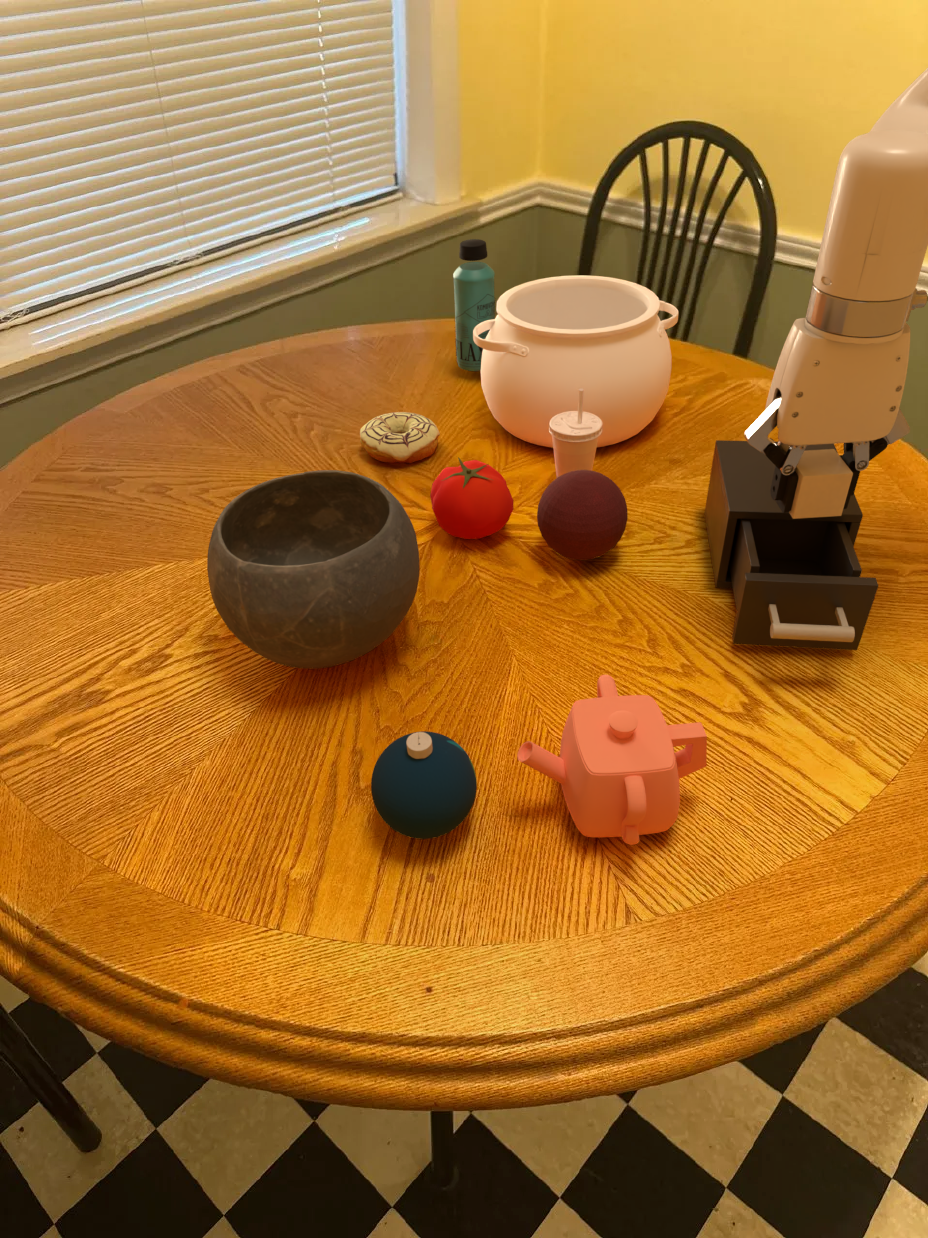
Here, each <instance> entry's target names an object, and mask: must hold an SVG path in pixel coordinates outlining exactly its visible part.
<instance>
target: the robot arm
mask: <svg viewBox="0 0 928 1238" xmlns="http://www.w3.org/2000/svg"><path fill="white" fill-rule="evenodd" d="M927 249H928V67H927V68H926V69H925V70H924V71H923V72H922V73H920V74H919V75H918V77H916V79H914V81H912V82H911V83H910V84H909V85H908V86H907V87H906V88H905V90H903V91H902V92H901V93H900V95H898V96H897V97H896V99H895V100H894V101H893V102H892V103H891V104H890V105H889V106H887V108H886V109H885V111H884V112H883V113H882V114H881V115H880V117H879V118H878V119H877V120H876V121H875V122H874V124H873V126H872V127H871V129H870V131H869V132H867V133H863V134H860V135H859V134H858V135H857V136H855V137H854V138H852V139H851V140H850V141H849V142H847V144H846V145H845V147H844V148H843V150H842V151H841V154H840V156H839V159H838V162H837V166H836V171H835V176H834V180H833V185H832V190H831V194H830V200H829V204H828V209H827V214H826V219H825V224H824V229H823V233H822V238H821V243H820V248H819V253H818V257H817V261H816V266H815V270H814V274H813V280H812V284H811V289H810V294H809V298H808V302H807V307H806V312H805V317H800V318H796V319H795V320H794V322H793V323H792V325H791V328H790V329H789V332H788V335H787V336H786V339H785V341H784V344H783V347H782V349H781V352H780V353H779V354H780V355H779V357H778V361H777V362H776V363H777V364H776V367H775V370H774V373H773V377H772V380H771V383H770V387H769V390H768V394H767V398H766V403H765V407H764V411H763V412H762V413H761V414H760V415H759V416H758V418H756V419H755V420H754V422H753V423H752V424H750V426H749V427H748V428H747V429H746V430H745V431H744V432H743V437H744V439H745V441H747V442H748V443H749V445H751V446H752V447H754V448H755V449H757V450H758V451H760V452H762V453H763V454H765V455H766V456H767V458H768V459H769V460H770V461H771V462H772V463H773V464H774V465H775V470H774V475H773V479H772V484H771V489H770V494H771V497H772V499H773V500H775V501H776V503H777V504H778V506H779V508H780V509H781V511H782V512H783V513H787V512H790V511H791V508H792V504H793V500H794V496H795V491H796V487H797V483H798V475H797V473H796V472H795V469H796V466H797V464H798V462H799V460H800V458H801V456H802V454H803V452H804V450H805V448H806V446H807V445H818V444H834V445H836V444H843V453H842V454H839V456H840V457H841V458H842V460H843V461H844V462H845V463H846V465H847V466H848V467H849V469H850V470H851V471H852V472H853V476H852V479H851V483H850V486H849V490H848V494H847V497H846V501H845V504H844V508H843V509H847V507H848V503H849V500H850V496H852V495H853V494H855V492H856V488H857V485H858V481H859V478H860V473H861V471H865V470H866V469H867V468H868V467H869V466H870V461H872V460H873V459H874V458H876V457H877V456H878V455H880V454H881V453H882V452H884V451H886V449H887V447H888V446H889V445H892V444H894V443H895V442H897V441H899V440H900V439H902V438H904V437H906V436H907V435H908V434H910V432H911V426H910V425H909V423H908V421H907V419H906V417H905V416H904V413H903V412H902V410H901V407H900V406H901V403H902V398H903V394H904V390H905V384H906V379H907V375H908V374H907V373H908V367H909V360H910V349H911V348H910V347H911V326H910V324H908V323H907V322H908V321H909V319H910V315H911V312H912V311H914V310H915V309H921V308H924V307H925V306H926V305H927V302H928V292H927V291H926V290H925V289H921V290H920V289H919V290H918V288H917V285H918V282H919V279H920V274H921V271H922V267H923V264H924V260H925V256H926V253H927ZM776 427H777V429H778V430H777V439H778V441H775V440H774V439H773V438H772V437H769V435H770V433H772V431H773V430H774V429H775V428H776ZM776 442H778V443H776Z"/></svg>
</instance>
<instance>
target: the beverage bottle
mask: <svg viewBox="0 0 928 1238" xmlns="http://www.w3.org/2000/svg"><path fill="white" fill-rule="evenodd" d="M458 253H459V254H458V256H459V259H461V260H462V261H467V262H464V263H462V264H460V265H459V266H458V267H457V268H455V270H454V271H453V273H452V279H453V294H454V295H453V296H454V297H453V298H454V333H455V334H454V335H455V338H454V340H455V359H456V360H455V361H456V363H457V365H458V368H460V369H461V370H464V371H467V372H481V360H482V351H483V348H481V347H479V346H477V345H476V344H475V342H474V340H473V330H474V328H475V327H476V326H477V325H478V324H480V323H481V322H484V321H487V320H492V319H495V318H496V302H497V300H496V297H495V271H494V269H493V268H492V267H491V266H489V264H487V263H486V262H482V261H483V260H485V259H486V258H488V248H487V242H486V241H485V240H484V239H478V238H477V239H476V238H472V239H471V238H470V239H466V240H462V241H461V242H460V243H459V252H458ZM489 331H490V329H489V330H486V331H484V332H482V333H481V334H479V335H478V337H480V338H482V339H485V338H486V336H487V335H488V333H489Z"/></svg>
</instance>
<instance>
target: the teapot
mask: <svg viewBox="0 0 928 1238" xmlns="http://www.w3.org/2000/svg"><path fill="white" fill-rule="evenodd" d="M596 696H597V697H591V698H584V699H578V700H575V701H574V703H573V704H572V707H571V708H570V711H569V713H568V716H567V718H566V720H565V724H564V727H563V730H562V734H561V740H560V748H559V756H558V755H556V754H554V753H552V752H550V751H548V750H547V749H545V748H544V747H542V746H540V745H538V744H537V743H535V742H532V741H530V740H526V741H525V742H523V743H522V744H521V746H520V747H519V749H518V750H517V760H518V761H519V762H521V763H522V764H524V765H526V766H527V767H529V768H531V769H533V770H535V771H537V772H538V773H540V774H542V775H544V776H545V777H548V778H550V779H552V780H553V781H555V782H557V783H559V784H560V785H561V789H562V794H563V797H564V800H565V804H566V806H567V809H568V811H569V813H570V816H571V818H572V821H573V823H574V825H575V827H576V828H577V830H578V832H579V833H580V834H582V836H584V837H586V838H587V837H588V838H619V837H621V838H622V841H623V842H624V843H625V844H626V845H630V846H634V845H637V844H639V842H640V836H642V835H644V836H645V835H651V834H658V833H663V832H666V831H668V830H669V829H670V828H671V827H673V825H674V824H675V823H676V821H677V819H678V817H679V811H680V810H679V809H680V804H681V803H680V800H681V791H680V779H683V778H684V777H686V776H689V775H691V774H693V773H696V772H697V771H699V770H702V769H704V768H706V767H707V759H708V758H707V752H708V751H707V749H708V747H707V746H708V736H707V733H706V730H705V728H704V726H703V723H702V722H700V721H699V722H688V723H678V724H667V722H666V719H665V716H664V714H663V712H662V710H661V708H660V707H659V705H658V703H657V702H656V700H655V698H653V696H650V695H649V694H633V695H629V694H628V695H619V693H618V689H617V685H616V681H615V679H614V678H613V677H612V676H611V675H610V674H601V675H600V676H599V677H598V679H597V682H596ZM681 746H684V748H682V749H680V750H678V751H675V748H676V747H681Z"/></svg>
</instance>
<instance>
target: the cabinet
mask: <svg viewBox="0 0 928 1238" xmlns="http://www.w3.org/2000/svg"><path fill="white" fill-rule="evenodd" d="M775 442H776V443H778V441H775ZM825 449H835V451H836V452H837V453H838V449H837V448H836V444H818V445H807V446H806V448H805V450H804V451H809V450H825ZM838 454H839V453H838ZM774 470H775V465H774V464H773V463H772V462H771V461H770V460H769V459H768V458H767V456H766V455H765V454H763V453H762V452H760V451H758V450H757V449H755V448H754V447H752V446H751V445H749V443H748V442H747V440H720V439H719V440H718V439H717V440H715V444H714V449H713V456H712V463H711V469H710V476H709V481H708V488H707V495H706V501H705V508H704V519H705V526H706V532H707V538H708V545H709V552H710V558H711V565H712V572H713V579H714V585H715V589H732V590H733V587H732V581H731V575H730V570H729V560H730V555H731V549H732V544H733V539H734V533H735V528H736V523H737V518H738V519H769V520H800V521H831V522H844V523H845V526H846V528H847V531H848V534H849V536H850V539H851V542H852V545H853V547H855V544H856V541H857V540H856V539H857V537H858V533H859V530H860V527H861V523H862V520H863V517H864V514H863V512H862V509H861V506H860V504H859V502H858V500H857V497H856V494H855V493H854V494H853V495H852V496H850V500H849V503H848V507H847V509H843V511H842V515H841V516H831V517H814V518H798V519H793V518H792V516H791V515H790V513H789V512H787V513H783V512H782V511H781V509H780V508H779V506H778V504H777V503H776V501H775V500H773V499H772V497H771V494H770V489H771V484H772V479H773V475H774Z"/></svg>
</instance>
